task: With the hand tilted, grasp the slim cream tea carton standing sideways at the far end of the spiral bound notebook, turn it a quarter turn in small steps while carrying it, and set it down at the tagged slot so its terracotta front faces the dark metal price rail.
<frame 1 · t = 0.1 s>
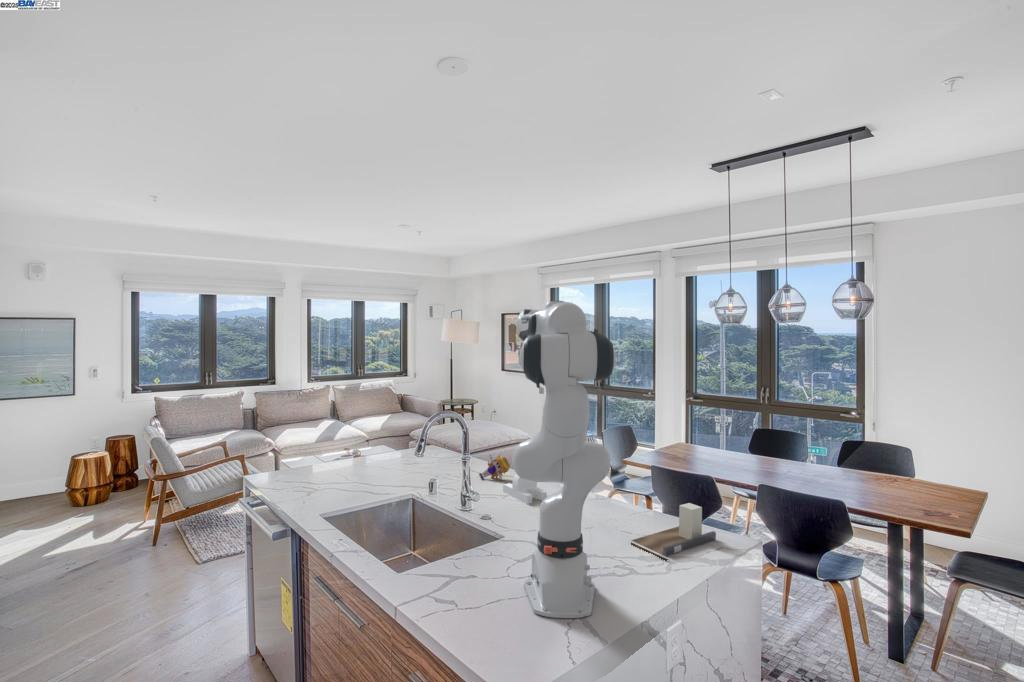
hand: (555, 393, 166), 48 cm above the worktop, tool pointing down, fingers open, 8 cm apart
toy: (494, 479, 237), on the worktop
carton: (690, 536, 167), point 1 cm above the worktop, touching spiral bound notebook
price rail: (690, 543, 158), on the spiral bound notebook, point 3 cm above the worktop
spiral bound notebook: (673, 544, 164), on the worktop
tape dispenser: (524, 497, 212), on the worktop
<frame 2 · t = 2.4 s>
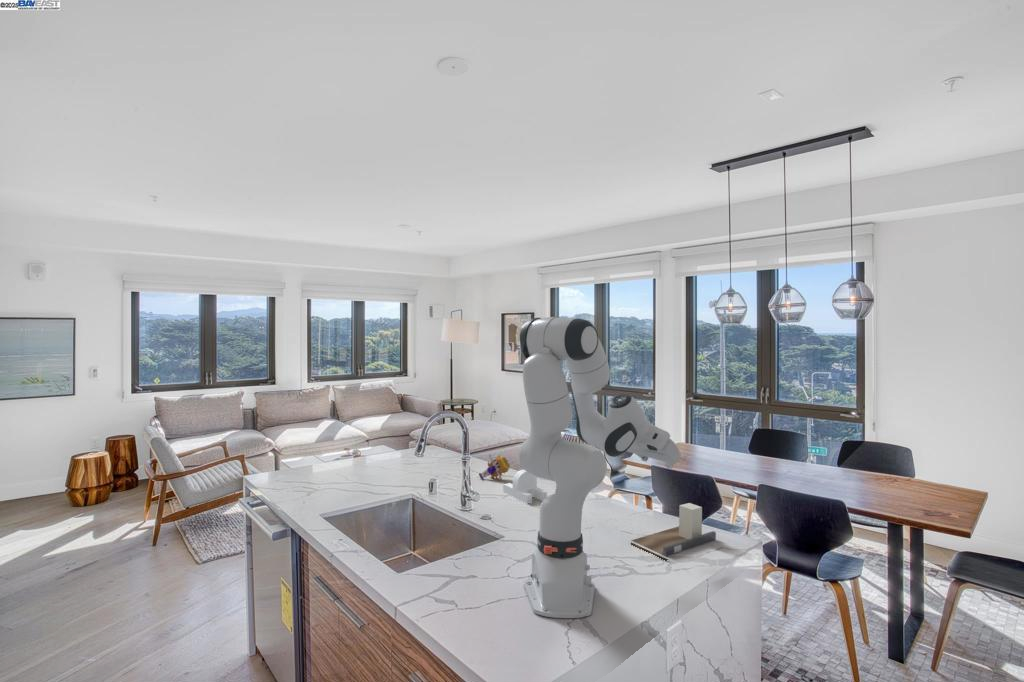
hand: (657, 463, 163), 26 cm above the worktop, tool tilted 45°, fingers open, 8 cm apart
nothing on the worktop moved.
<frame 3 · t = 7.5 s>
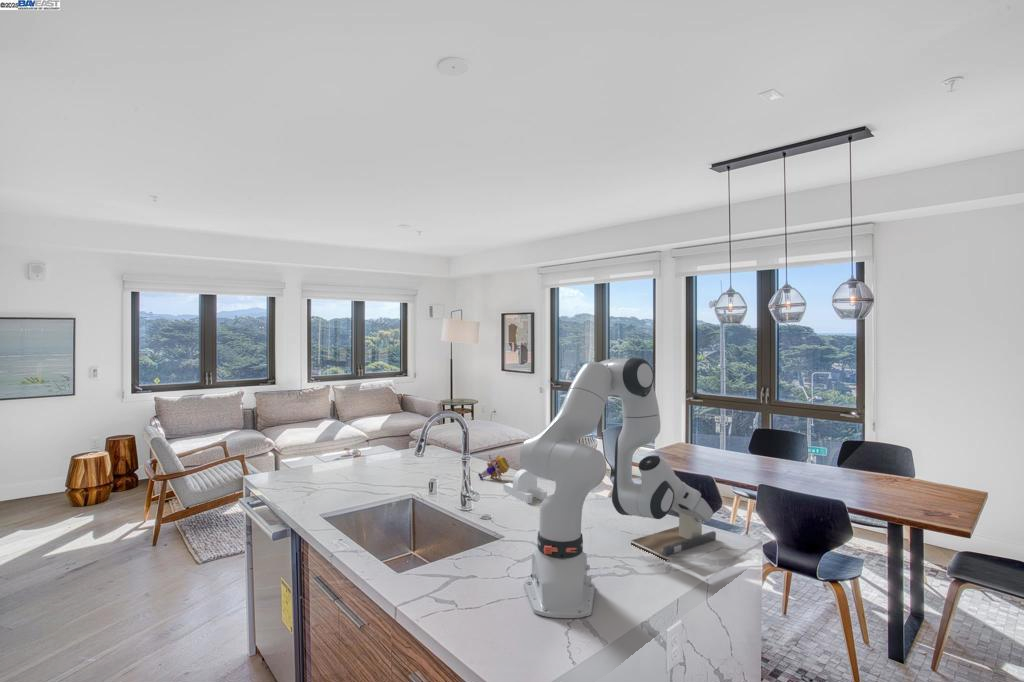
hand: (691, 517, 167), 8 cm above the worktop, tool tilted 45°, fingers closed on carton, 5 cm apart
carton: (690, 536, 167), point 1 cm above the worktop, touching gripper, spiral bound notebook
when the fingers open (9 cm above the worktop, at t = 17.1 s): carton drops 2 cm, resting on spiral bound notebook.
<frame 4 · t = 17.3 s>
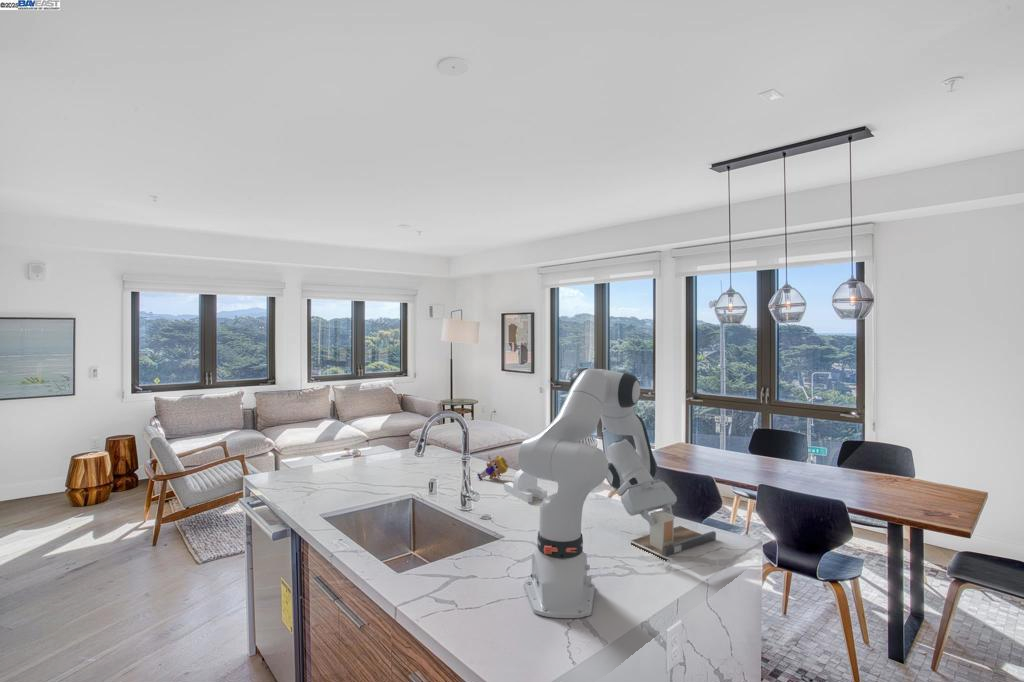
hand: (663, 522, 159), 9 cm above the worktop, tool tilted 45°, fingers open, 7 cm apart
carton: (661, 546, 159), point 1 cm above the worktop, touching spiral bound notebook
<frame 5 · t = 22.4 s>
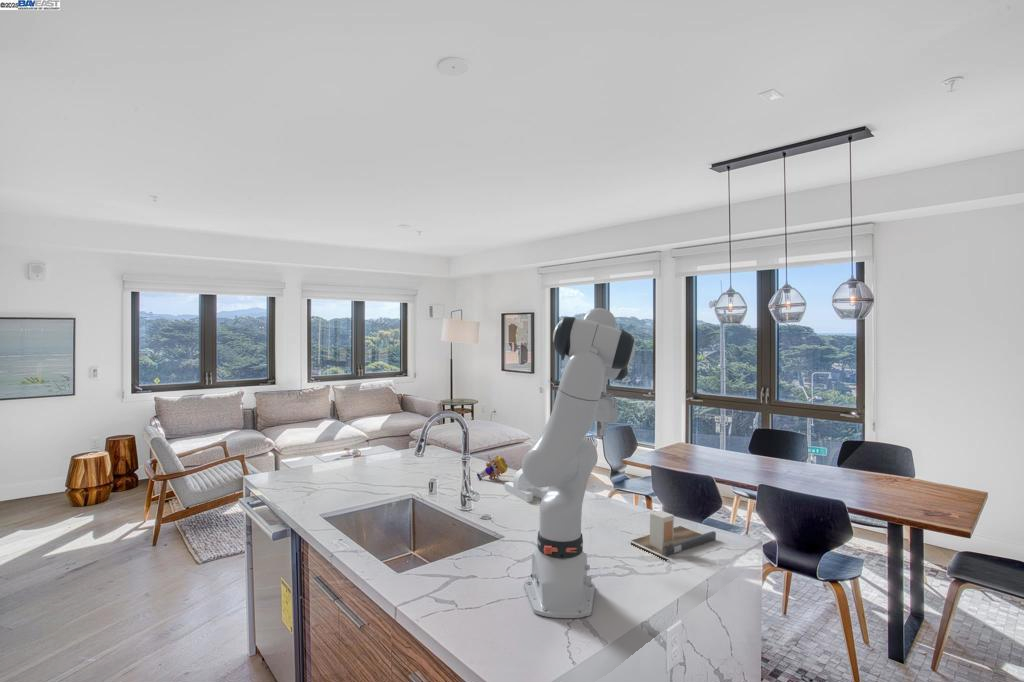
hand: (591, 433, 167), 35 cm above the worktop, tool pointing down, fingers open, 8 cm apart
at the end: carton 0.2 cm from the target spot on the spiral bound notebook, point 1.5 cm above the spiral bound notebook's base; carton tilted 0°; the gripper is holding nothing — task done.
